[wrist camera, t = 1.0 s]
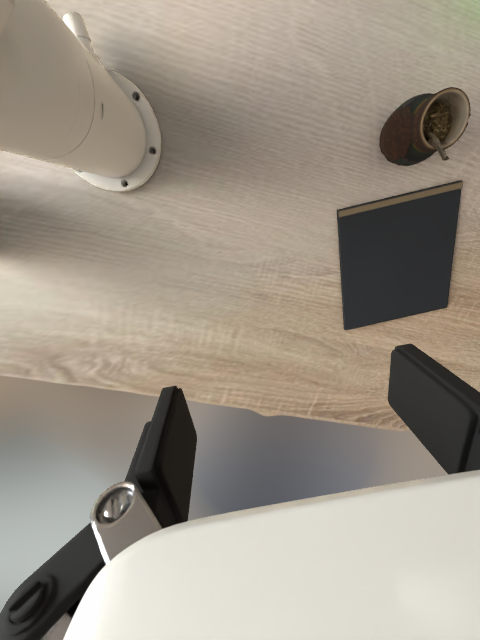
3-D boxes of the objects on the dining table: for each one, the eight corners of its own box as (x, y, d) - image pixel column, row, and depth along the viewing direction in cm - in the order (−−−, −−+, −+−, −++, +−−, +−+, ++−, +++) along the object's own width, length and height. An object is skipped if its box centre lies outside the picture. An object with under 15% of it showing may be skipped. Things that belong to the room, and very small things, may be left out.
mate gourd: (430, 101, 33) (509, 61, 24) (420, 168, 36) (487, 155, 27) (375, 107, 33) (434, 69, 24) (370, 174, 36) (420, 163, 27)
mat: (336, 209, 38) (338, 210, 37) (459, 180, 37) (463, 180, 37) (343, 329, 46) (345, 330, 45) (444, 306, 46) (447, 307, 45)
